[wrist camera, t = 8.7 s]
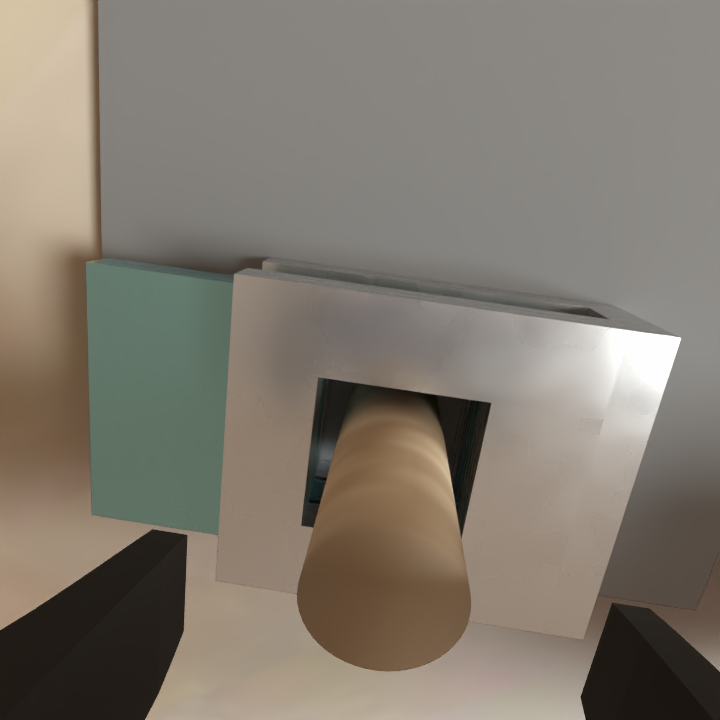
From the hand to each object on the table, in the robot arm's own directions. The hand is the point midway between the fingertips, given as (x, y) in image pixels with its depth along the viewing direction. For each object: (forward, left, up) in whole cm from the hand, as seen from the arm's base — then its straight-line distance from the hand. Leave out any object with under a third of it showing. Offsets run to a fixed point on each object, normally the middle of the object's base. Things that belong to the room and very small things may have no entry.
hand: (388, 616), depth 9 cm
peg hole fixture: (+1, 0, -9) cm, 9 cm away
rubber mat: (-1, -4, -10) cm, 11 cm away
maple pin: (0, 0, -9) cm, 9 cm away
